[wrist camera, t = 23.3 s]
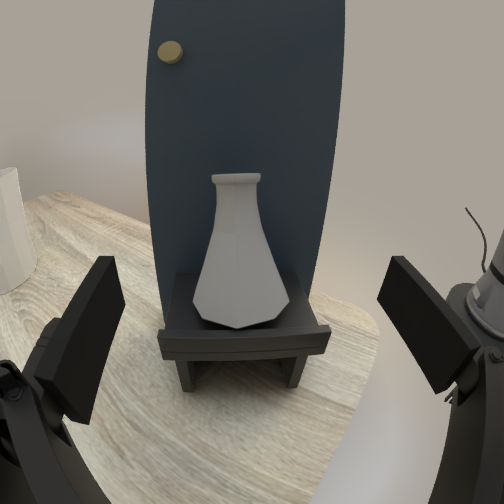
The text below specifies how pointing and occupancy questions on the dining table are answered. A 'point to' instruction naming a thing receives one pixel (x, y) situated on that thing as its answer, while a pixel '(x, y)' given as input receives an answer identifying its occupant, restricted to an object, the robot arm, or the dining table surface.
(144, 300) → the dining table surface
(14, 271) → the container
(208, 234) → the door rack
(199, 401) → the dining table surface
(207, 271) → the flask
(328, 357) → the dining table surface
